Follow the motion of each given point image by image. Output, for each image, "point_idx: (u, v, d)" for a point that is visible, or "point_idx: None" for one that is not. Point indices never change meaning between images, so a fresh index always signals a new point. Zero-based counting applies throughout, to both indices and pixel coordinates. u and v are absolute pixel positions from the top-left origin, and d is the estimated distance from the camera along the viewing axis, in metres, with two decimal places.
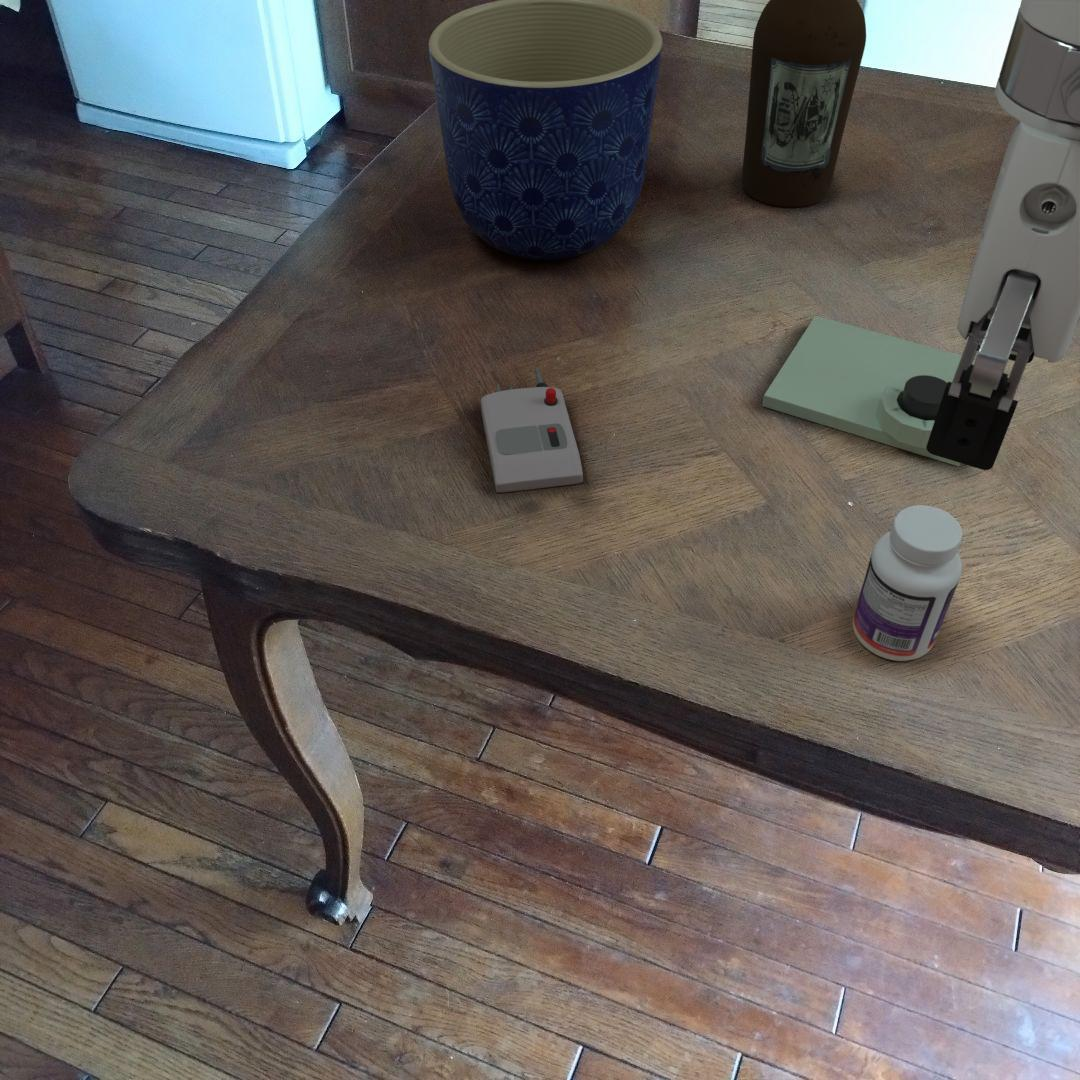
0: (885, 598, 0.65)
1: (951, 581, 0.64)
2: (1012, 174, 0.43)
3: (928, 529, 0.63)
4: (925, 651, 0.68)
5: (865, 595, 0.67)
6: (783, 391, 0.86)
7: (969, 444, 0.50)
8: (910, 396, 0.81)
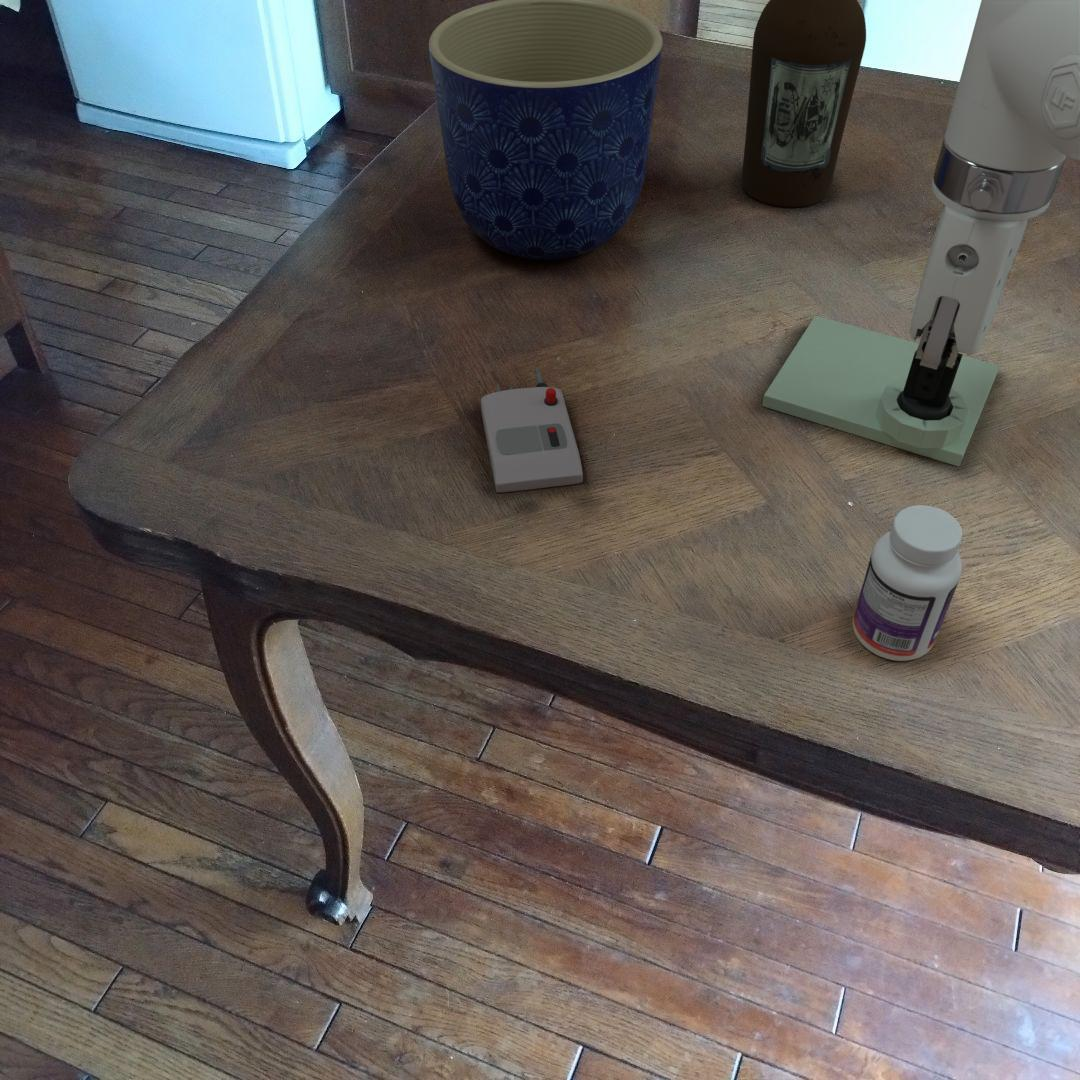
0: (885, 598, 0.65)
1: (951, 581, 0.64)
2: (940, 237, 0.69)
3: (928, 529, 0.63)
4: (925, 651, 0.68)
5: (865, 595, 0.67)
6: (783, 391, 0.86)
7: (929, 389, 0.80)
8: (908, 404, 0.81)
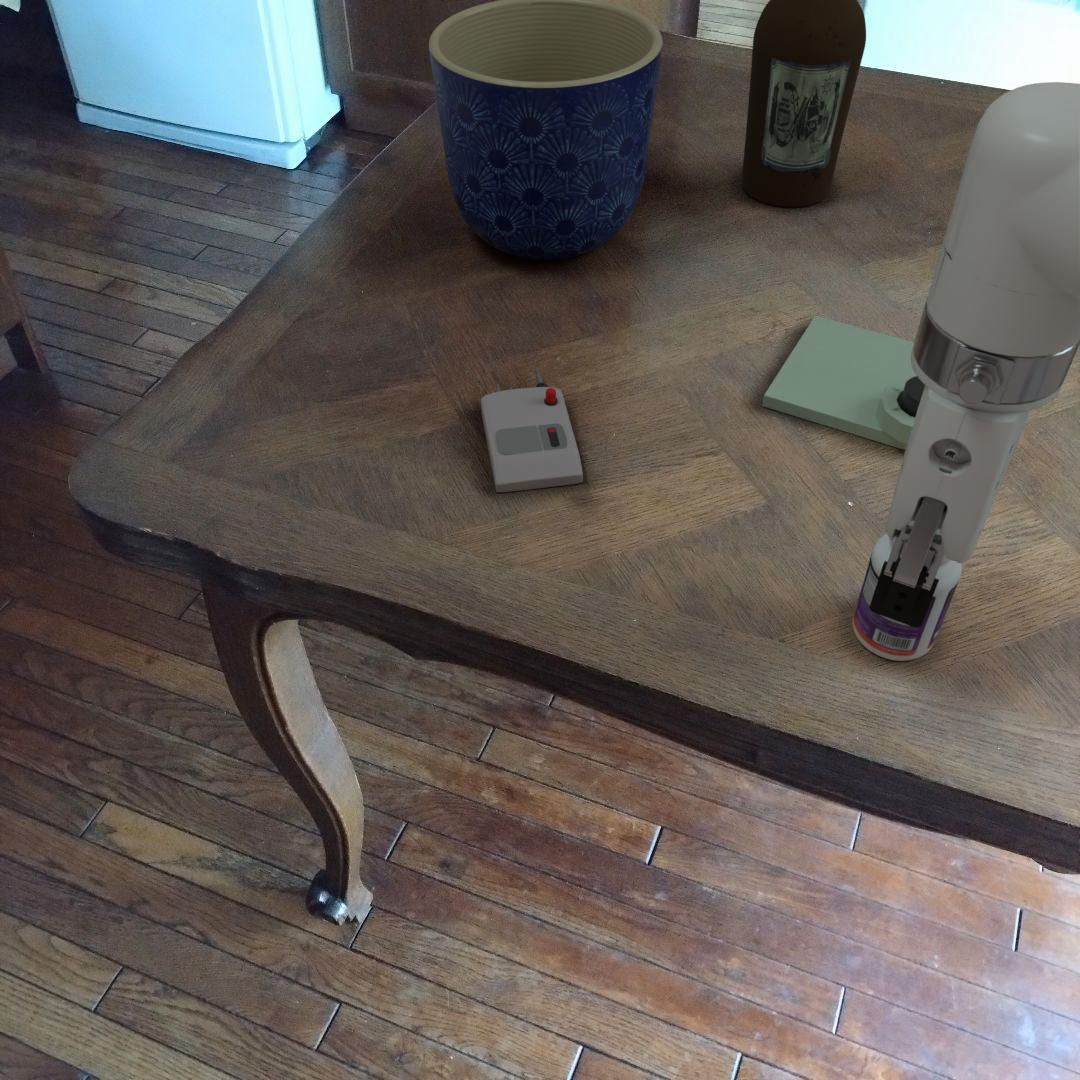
0: None
1: (951, 581, 0.64)
2: (922, 428, 0.54)
3: None
4: (925, 651, 0.68)
5: (865, 595, 0.67)
6: (783, 391, 0.86)
7: (901, 610, 0.63)
8: (910, 396, 0.81)
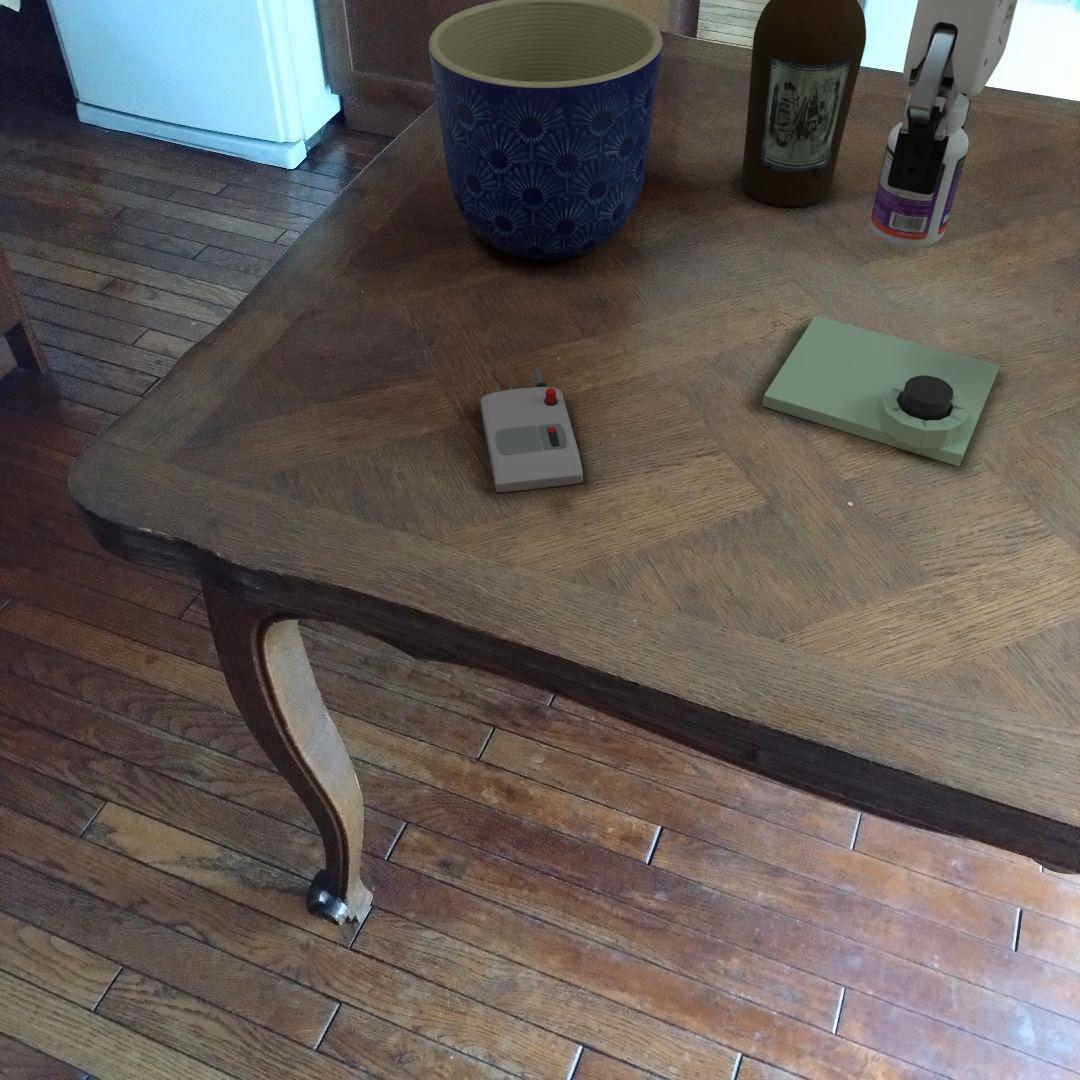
0: None
1: (959, 149, 0.72)
2: None
3: (939, 100, 0.71)
4: (935, 237, 0.76)
5: (882, 182, 0.75)
6: (783, 391, 0.86)
7: (916, 172, 0.71)
8: (910, 396, 0.81)
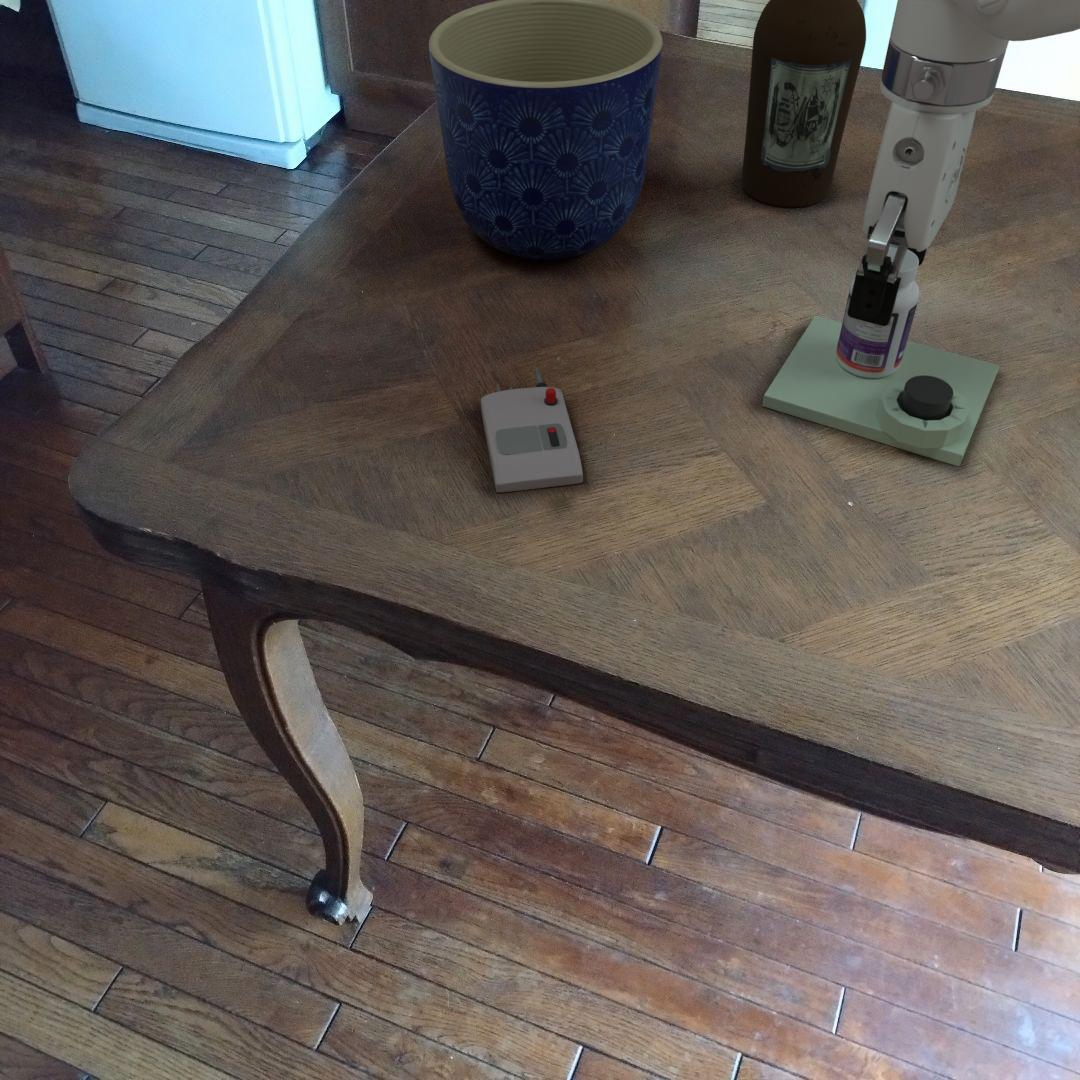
0: None
1: (910, 300, 0.83)
2: (888, 132, 0.72)
3: (893, 259, 0.82)
4: (892, 370, 0.87)
5: (845, 323, 0.86)
6: (783, 391, 0.86)
7: (872, 307, 0.79)
8: (910, 396, 0.81)
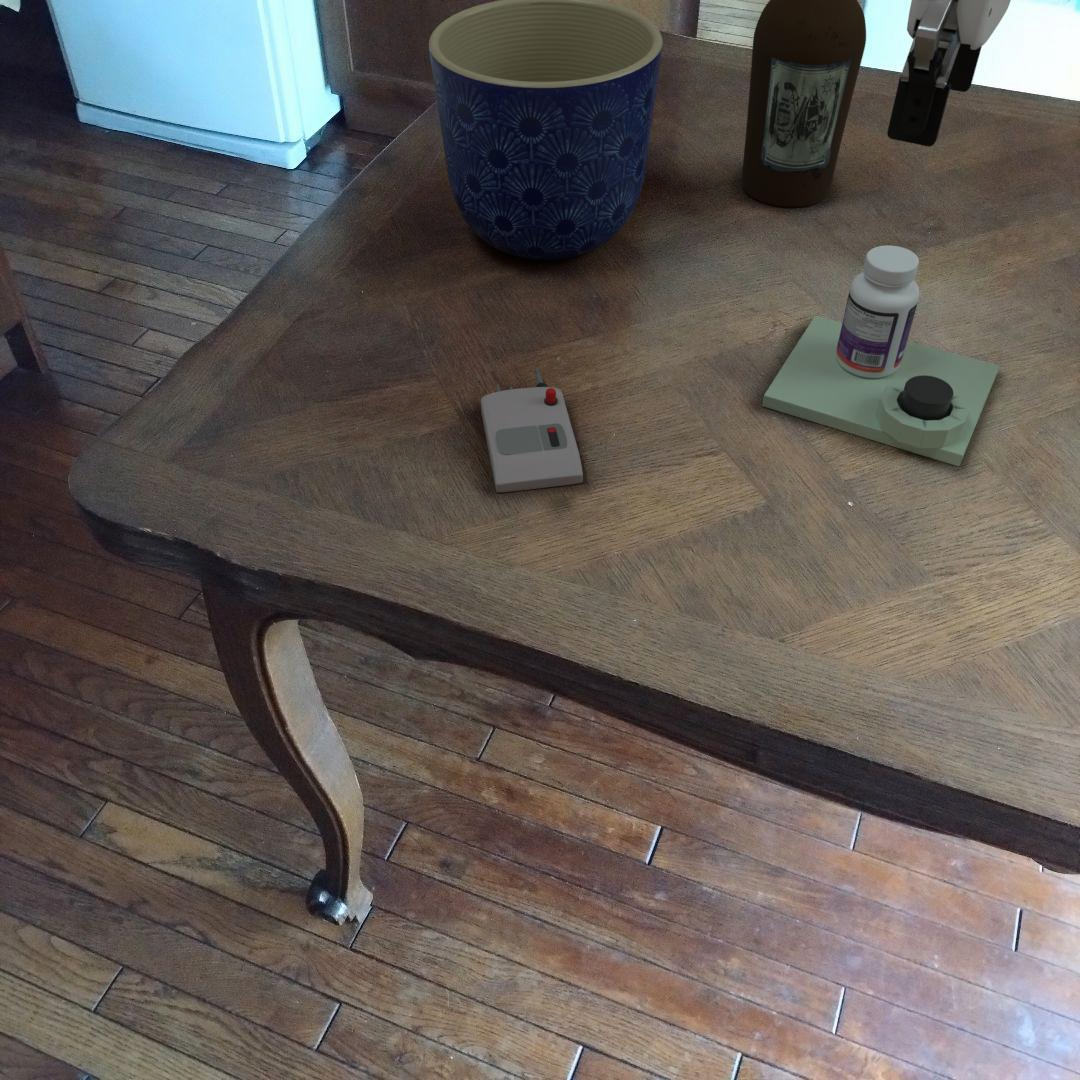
0: (860, 319, 0.84)
1: (910, 300, 0.83)
2: None
3: (893, 259, 0.82)
4: (892, 370, 0.87)
5: (845, 323, 0.86)
6: (783, 391, 0.86)
7: (917, 122, 0.69)
8: (910, 396, 0.81)
